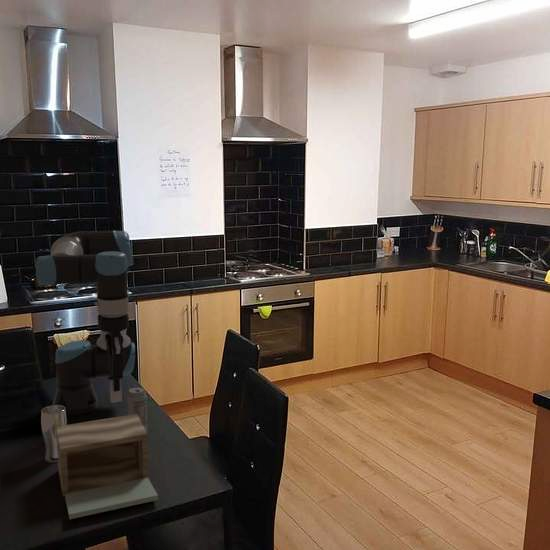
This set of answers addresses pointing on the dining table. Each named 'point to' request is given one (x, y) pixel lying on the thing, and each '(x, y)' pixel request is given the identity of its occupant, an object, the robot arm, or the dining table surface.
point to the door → (109, 497)
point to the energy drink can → (138, 404)
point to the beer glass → (52, 429)
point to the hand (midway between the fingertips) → (116, 400)
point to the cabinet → (101, 453)
